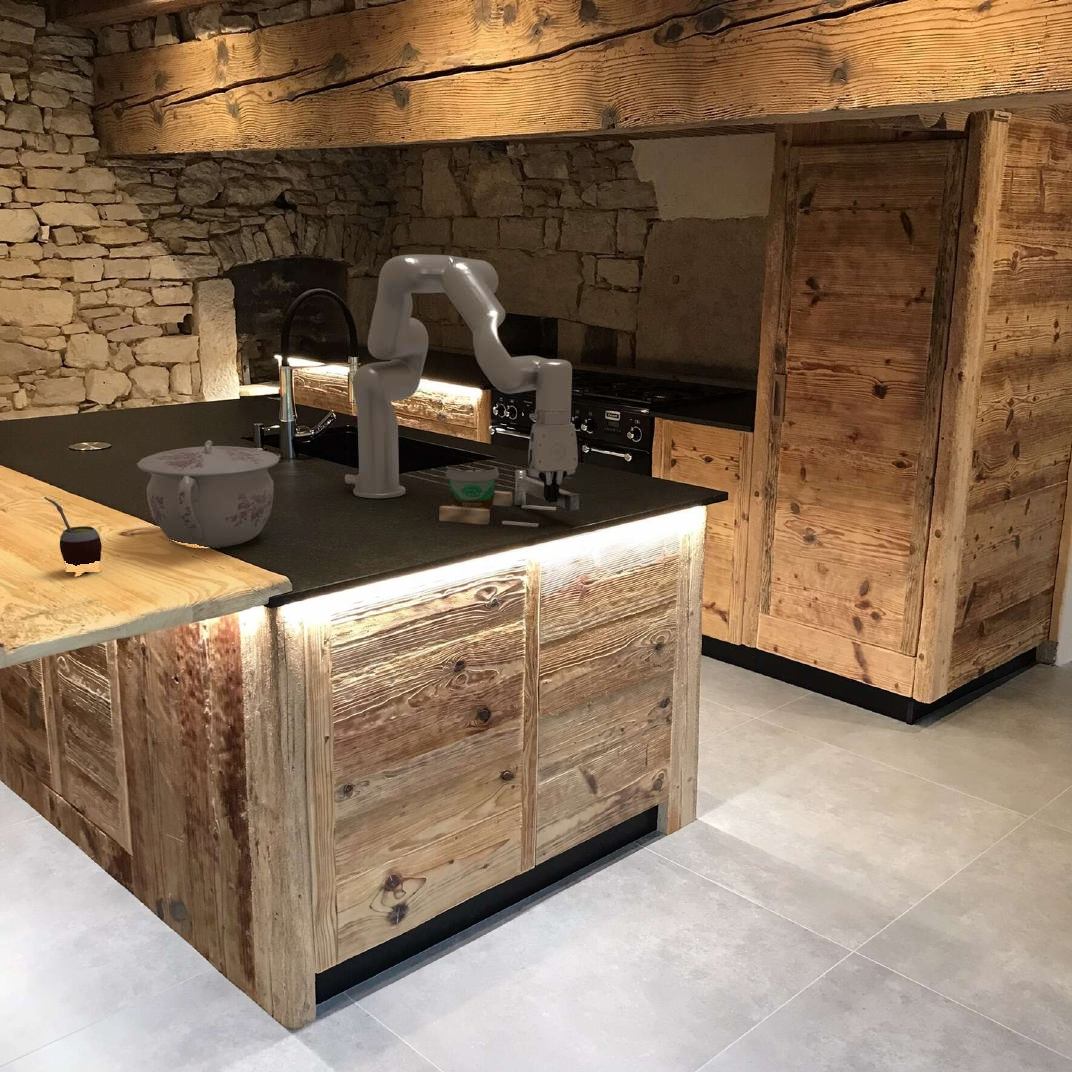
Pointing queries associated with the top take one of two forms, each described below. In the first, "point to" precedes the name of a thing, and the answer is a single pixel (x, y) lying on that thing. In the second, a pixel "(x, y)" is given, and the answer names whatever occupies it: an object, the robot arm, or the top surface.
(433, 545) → the top surface
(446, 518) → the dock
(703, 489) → the top surface
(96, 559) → the mate gourd
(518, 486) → the retention gate
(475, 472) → the food container
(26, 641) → the top surface
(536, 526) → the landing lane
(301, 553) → the top surface
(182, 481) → the chamber pot
